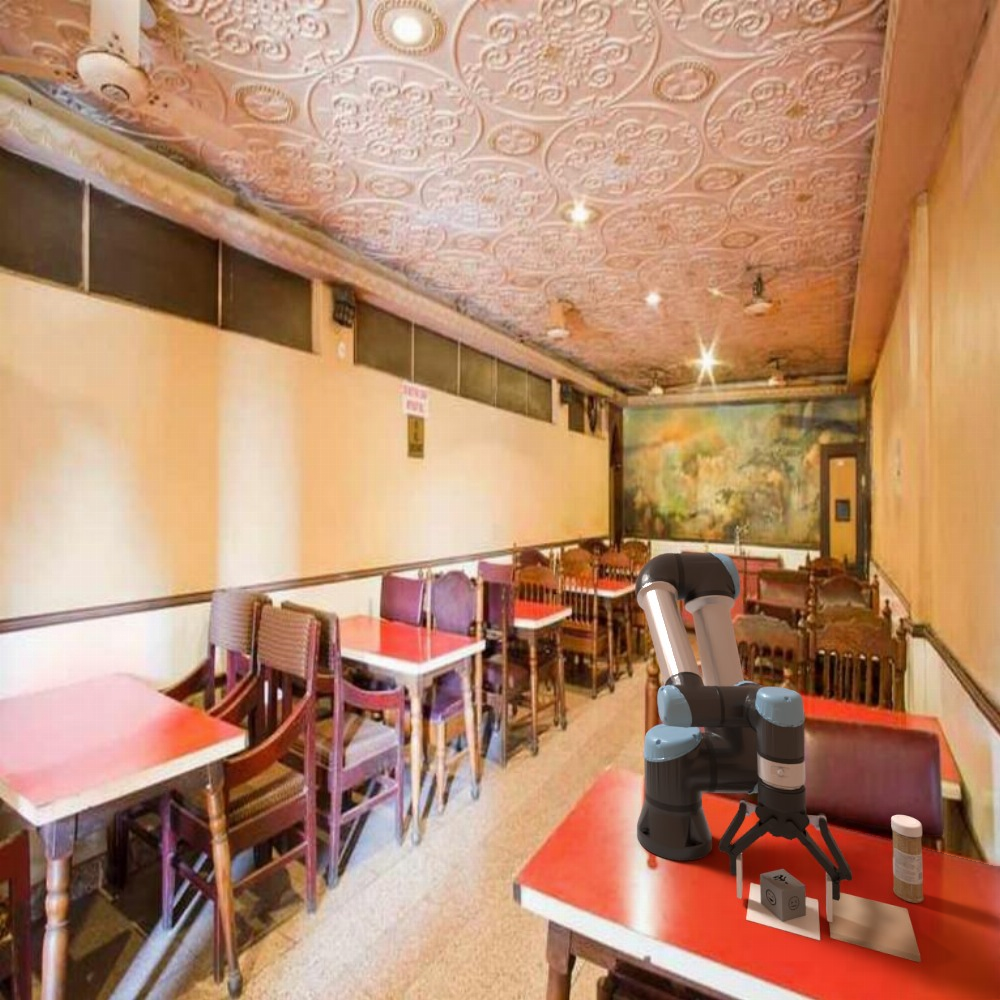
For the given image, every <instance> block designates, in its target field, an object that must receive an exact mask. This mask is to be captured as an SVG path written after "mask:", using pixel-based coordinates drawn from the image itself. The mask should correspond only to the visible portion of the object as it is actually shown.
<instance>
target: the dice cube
mask: <svg viewBox="0 0 1000 1000" xmlns="http://www.w3.org/2000/svg"><path fill="white" fill-rule="evenodd" d="M759 882H760V884H759V885H760V894H761V904H762V905H763V906H765V907H766V908H767V909H768V910H769V911H770V912H772V913H773V914H774V915H775V916H776V917H777V918H779V919H780V920H781V921H782V922H784V921H787V920H791V919H794V918H798V917H802V916H805V915H806V897H807V895H806V885H805V884H804V883H803V882H801V881H800V880H799V879H797V878H796V877H794V876H793V875H792V874H791V873H789V872H788V871H786V869H784V868H781V869H776V870H773V871H767V872H764V873H760V874H759Z"/></svg>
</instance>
